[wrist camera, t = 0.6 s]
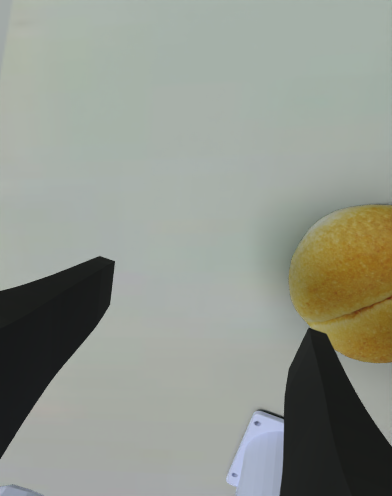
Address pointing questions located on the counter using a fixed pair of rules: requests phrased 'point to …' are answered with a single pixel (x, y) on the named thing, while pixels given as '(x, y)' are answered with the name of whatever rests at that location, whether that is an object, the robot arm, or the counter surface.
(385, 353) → the bread roll
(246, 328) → the counter surface
